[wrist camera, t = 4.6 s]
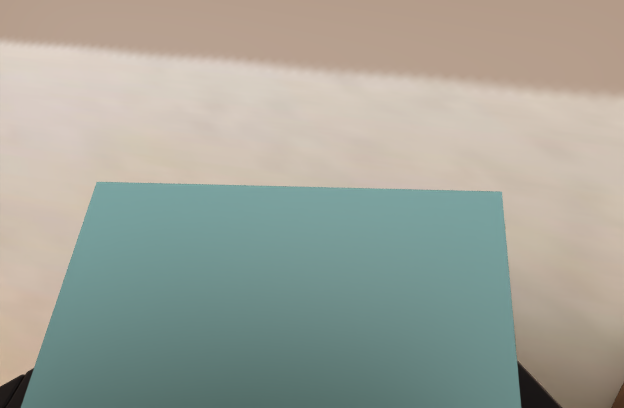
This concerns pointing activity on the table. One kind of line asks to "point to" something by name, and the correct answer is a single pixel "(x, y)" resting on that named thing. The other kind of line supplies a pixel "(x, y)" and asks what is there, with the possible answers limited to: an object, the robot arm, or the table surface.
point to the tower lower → (619, 399)
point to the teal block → (282, 301)
